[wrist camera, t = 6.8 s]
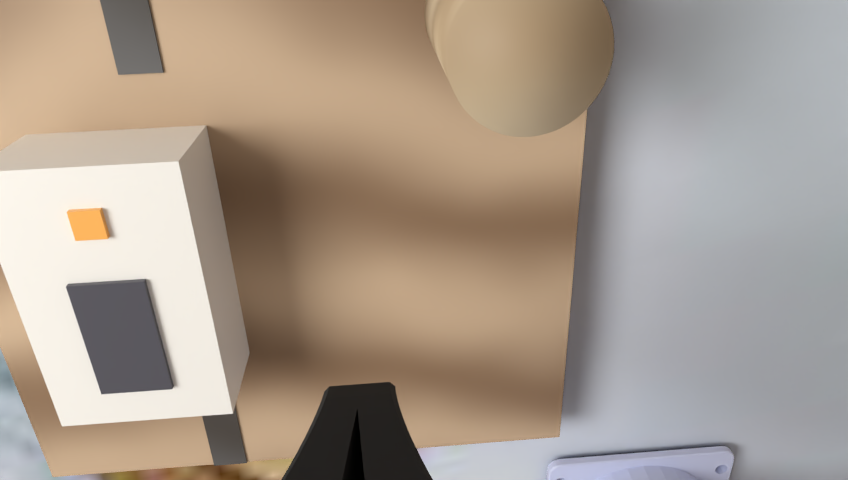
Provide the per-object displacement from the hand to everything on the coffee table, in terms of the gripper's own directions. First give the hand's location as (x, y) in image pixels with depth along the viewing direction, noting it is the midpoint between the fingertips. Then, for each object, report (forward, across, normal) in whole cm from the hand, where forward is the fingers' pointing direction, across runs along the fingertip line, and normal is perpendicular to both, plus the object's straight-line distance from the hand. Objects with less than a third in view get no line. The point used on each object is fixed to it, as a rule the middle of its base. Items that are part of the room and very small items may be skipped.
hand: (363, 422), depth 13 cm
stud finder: (+8, +7, 0) cm, 11 cm away
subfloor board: (+10, +3, -1) cm, 10 cm away
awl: (+8, -3, -7) cm, 11 cm away
